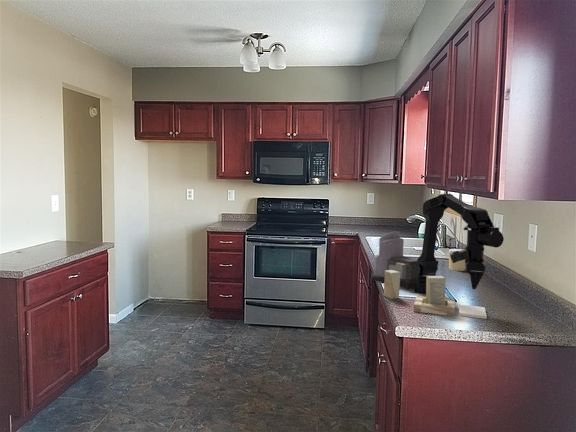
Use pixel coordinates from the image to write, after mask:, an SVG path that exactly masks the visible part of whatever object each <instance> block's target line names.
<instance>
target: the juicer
mask: <svg viewBox="0 0 576 432" xmlns="http://www.w3.org/2000/svg"><path fill="white" fill-rule="evenodd" d="M400 235H401V232H400V231H391V232H388V233H385V234H383V235H382V236H381V237H380V238H379V241H378V244H379V245H378V255H377V256H375V257H374V271H373V272H372V273H371V274H370V275H371V279H373V280H374V281H378V282H384V279H385V270H394V271H398V272H400V287H399V288H402V287H403V289H406V290H408V291H409V290H415V288H416V278H414V277H412V276H411V271H412V270H413V269H414V267H415V266H416V263H417V259H418V258H413V257H410V256H406V255H405V256H404V243H405V242H404V241H405V240H404V238H402V237H400Z"/></svg>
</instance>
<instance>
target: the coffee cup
mask: <svg viewBox="0 0 576 432" xmlns="http://www.w3.org/2000/svg"><path fill="white" fill-rule="evenodd" d="M461 250H463V249H462V248H461V249H460V248H449V250H448V269H449V270H451V271H457V272H459V271H460V272H463V271H466V265H465V264H466V263H465V260H461V261H457V262H456V263H452V260H451V257H450V253H453V252H455V251H461Z"/></svg>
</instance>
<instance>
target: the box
mask: <svg viewBox="0 0 576 432" xmlns="http://www.w3.org/2000/svg"><path fill="white" fill-rule="evenodd" d="M400 288H401V287H400V272H398V271H394V270H385V279H384V283H383V296H384V297H386V298H388V299H400Z"/></svg>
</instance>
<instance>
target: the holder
mask: <svg viewBox="0 0 576 432" xmlns="http://www.w3.org/2000/svg"><path fill="white" fill-rule="evenodd" d="M455 310H456V300H455V299H453V298H451V299H450V298H445V306H444V305H434V304H426V296H422V295H421V296H420V295H417V296H416V298H415V301H414V303H413V312H414V313H423V314H432V315H433V314H434V315H442V316H450V317H455V312H456V311H455Z"/></svg>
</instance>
